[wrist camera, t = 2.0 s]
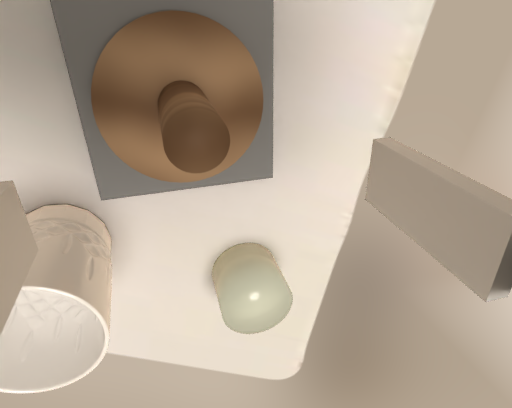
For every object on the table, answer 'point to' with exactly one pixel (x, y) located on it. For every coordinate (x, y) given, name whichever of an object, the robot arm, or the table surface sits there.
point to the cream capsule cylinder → (250, 288)
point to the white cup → (59, 304)
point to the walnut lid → (177, 96)
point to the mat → (102, 31)
